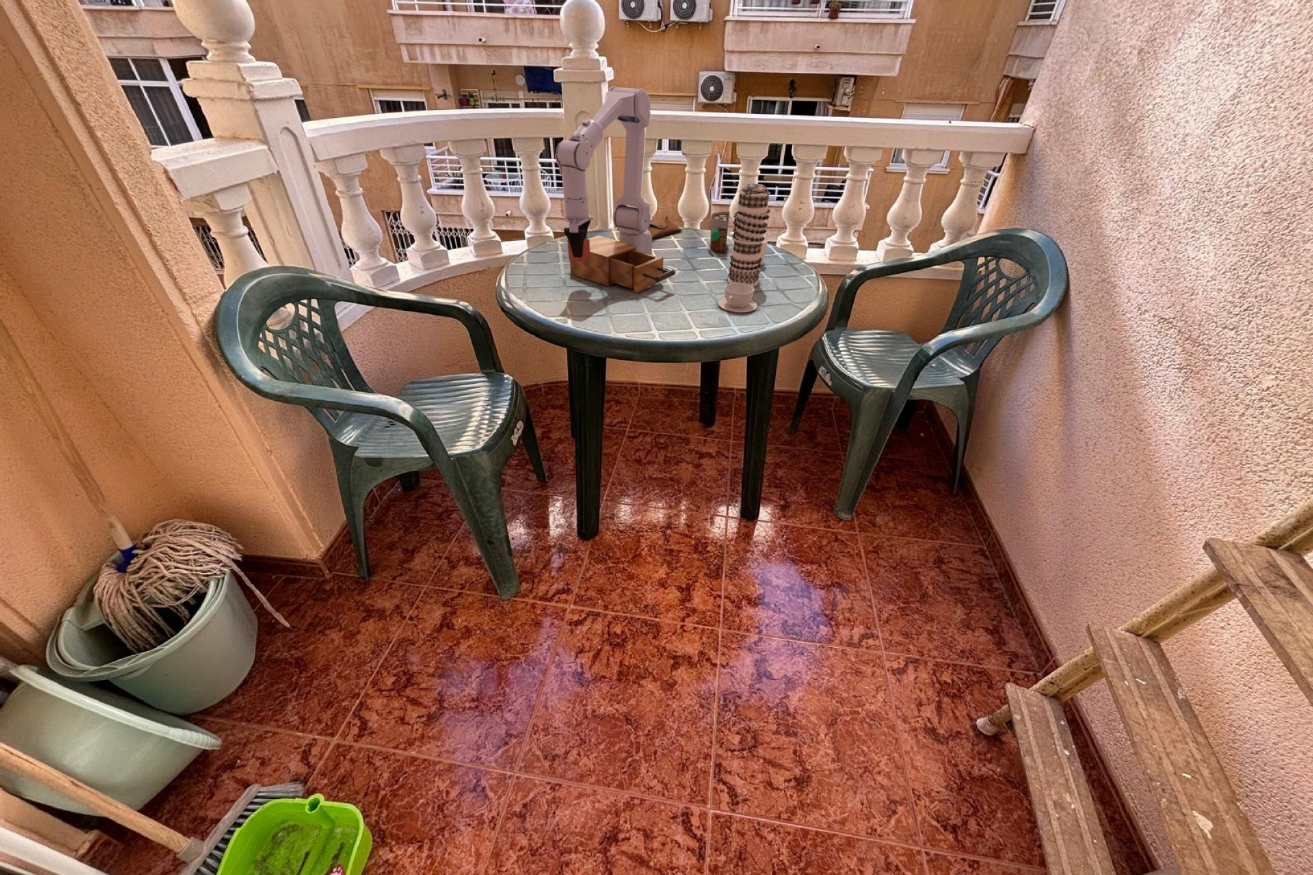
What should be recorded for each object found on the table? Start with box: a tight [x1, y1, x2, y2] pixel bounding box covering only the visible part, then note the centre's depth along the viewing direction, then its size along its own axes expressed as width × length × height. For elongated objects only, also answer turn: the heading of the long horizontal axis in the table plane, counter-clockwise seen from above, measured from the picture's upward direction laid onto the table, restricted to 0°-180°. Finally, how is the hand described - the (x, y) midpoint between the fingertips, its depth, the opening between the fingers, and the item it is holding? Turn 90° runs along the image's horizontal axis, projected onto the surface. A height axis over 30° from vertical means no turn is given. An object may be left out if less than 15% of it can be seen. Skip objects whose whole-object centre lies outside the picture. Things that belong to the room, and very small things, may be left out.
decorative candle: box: [727, 183, 771, 288], centre depth 142 cm, size 9×9×25 cm
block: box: [567, 238, 590, 262], centre depth 137 cm, size 4×4×5 cm
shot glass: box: [760, 238, 769, 266], centre depth 160 cm, size 7×7×7 cm
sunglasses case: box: [647, 216, 683, 240], centre depth 182 cm, size 18×7×7 cm, turn 138°
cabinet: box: [569, 235, 637, 287], centre depth 149 cm, size 14×12×8 cm
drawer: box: [608, 250, 676, 293], centre depth 143 cm, size 19×11×6 cm, turn 52°
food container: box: [708, 211, 730, 254], centre depth 170 cm, size 12×6×10 cm, turn 172°
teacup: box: [717, 283, 758, 313], centre depth 134 cm, size 10×10×5 cm
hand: (579, 253), depth 137 cm, fingers closed on block, 5 cm apart
